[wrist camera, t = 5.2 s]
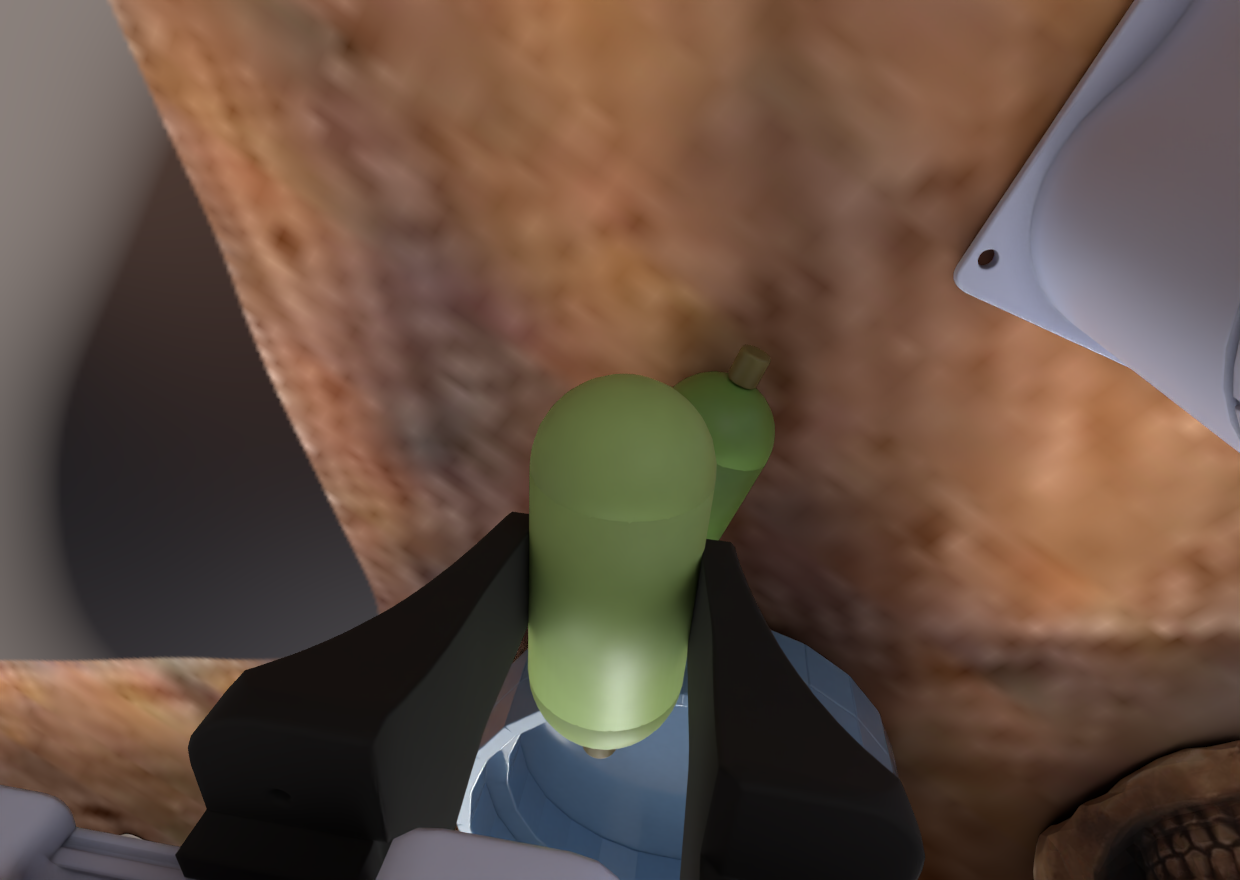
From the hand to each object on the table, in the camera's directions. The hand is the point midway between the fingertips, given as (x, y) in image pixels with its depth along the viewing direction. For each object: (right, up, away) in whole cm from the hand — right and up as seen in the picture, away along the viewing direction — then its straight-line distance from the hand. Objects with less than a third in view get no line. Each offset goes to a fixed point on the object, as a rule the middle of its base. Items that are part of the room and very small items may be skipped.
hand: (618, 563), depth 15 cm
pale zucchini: (0, +1, +1) cm, 1 cm away
